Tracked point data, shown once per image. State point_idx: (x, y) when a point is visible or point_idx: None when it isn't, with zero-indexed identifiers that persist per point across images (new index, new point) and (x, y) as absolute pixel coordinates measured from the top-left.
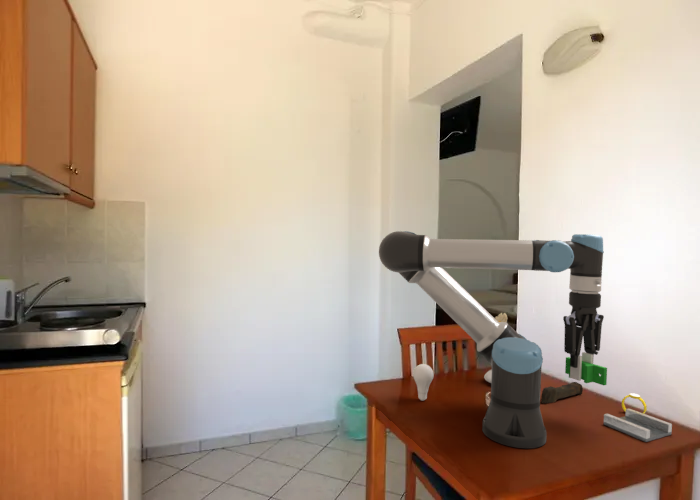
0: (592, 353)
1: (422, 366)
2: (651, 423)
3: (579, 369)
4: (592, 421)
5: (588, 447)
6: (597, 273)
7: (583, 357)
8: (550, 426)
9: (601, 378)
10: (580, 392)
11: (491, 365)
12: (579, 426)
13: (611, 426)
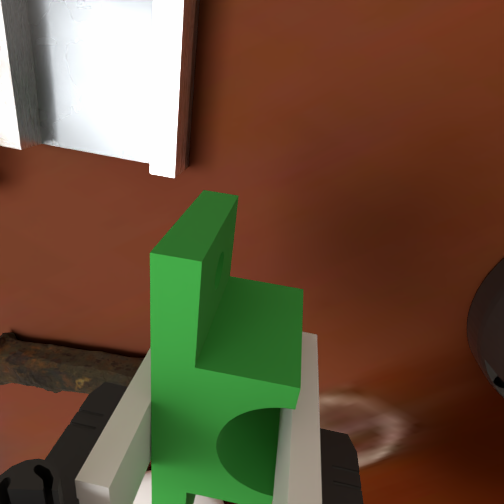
0: (63, 497)
1: None
2: (19, 18)
3: (318, 402)
4: None
5: (487, 91)
6: None
7: (134, 489)
8: (391, 273)
9: (224, 236)
10: (8, 338)
11: None
12: (293, 213)
13: (189, 133)
